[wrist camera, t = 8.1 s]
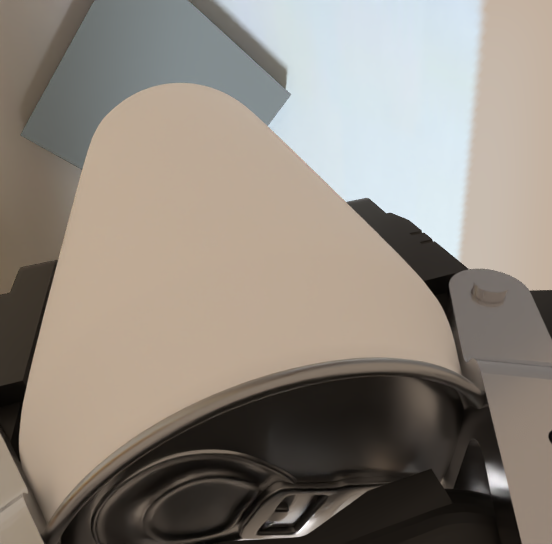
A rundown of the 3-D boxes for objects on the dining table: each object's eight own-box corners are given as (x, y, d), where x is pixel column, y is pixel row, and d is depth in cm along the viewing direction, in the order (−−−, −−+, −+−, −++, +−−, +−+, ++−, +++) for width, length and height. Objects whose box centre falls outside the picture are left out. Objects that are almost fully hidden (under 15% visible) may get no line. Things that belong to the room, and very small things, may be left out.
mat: (188, 223, 27) (190, 230, 26) (24, 129, 21) (20, 134, 21) (285, 91, 24) (290, 94, 23) (126, -55, 19) (125, -57, 18)
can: (124, 36, 12) (106, 224, 2) (306, 134, 15) (622, 388, 5) (60, 227, 14) (-79, 707, 5) (228, 277, 17) (350, 628, 8)
